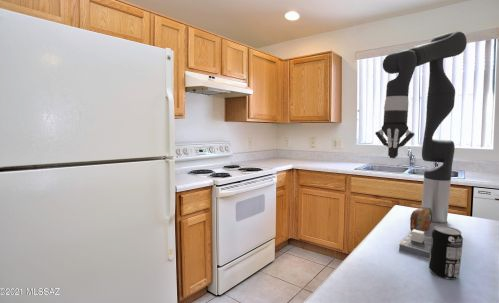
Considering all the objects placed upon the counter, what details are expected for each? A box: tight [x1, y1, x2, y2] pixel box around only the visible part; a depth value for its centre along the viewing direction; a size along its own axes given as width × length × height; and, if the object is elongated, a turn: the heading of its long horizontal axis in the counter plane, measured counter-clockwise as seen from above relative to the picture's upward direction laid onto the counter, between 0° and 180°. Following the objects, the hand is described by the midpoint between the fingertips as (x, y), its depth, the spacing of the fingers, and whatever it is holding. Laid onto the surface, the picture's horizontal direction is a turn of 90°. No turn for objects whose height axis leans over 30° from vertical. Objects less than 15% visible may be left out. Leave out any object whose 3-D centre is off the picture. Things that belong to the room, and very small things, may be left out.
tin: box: [409, 206, 433, 233], centre depth 102 cm, size 15×3×8 cm, turn 129°
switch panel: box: [398, 232, 432, 260], centre depth 86 cm, size 13×12×2 cm
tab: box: [411, 229, 425, 243], centre depth 88 cm, size 2×3×3 cm
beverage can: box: [428, 225, 464, 280], centre depth 72 cm, size 7×7×12 cm
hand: (392, 157), depth 100 cm, fingers closed
